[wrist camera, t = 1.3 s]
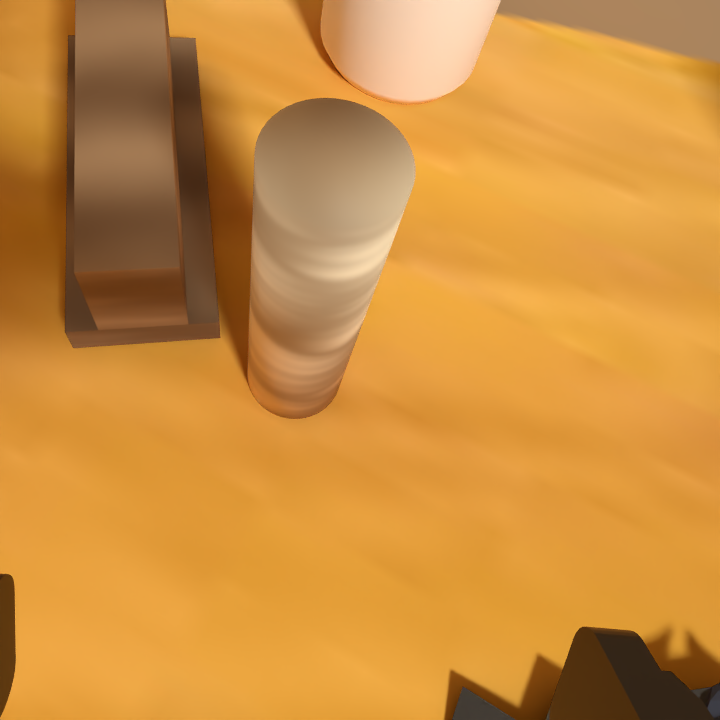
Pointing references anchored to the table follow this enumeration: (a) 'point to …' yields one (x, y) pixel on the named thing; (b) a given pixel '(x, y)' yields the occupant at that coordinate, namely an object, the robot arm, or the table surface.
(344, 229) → the dowel
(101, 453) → the table surface
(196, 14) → the table surface
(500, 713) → the decorative bat
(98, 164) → the brown block
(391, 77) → the alcohol
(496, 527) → the table surface
